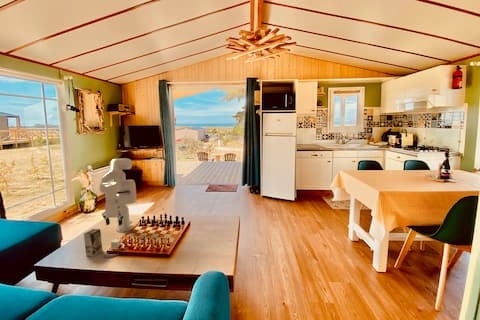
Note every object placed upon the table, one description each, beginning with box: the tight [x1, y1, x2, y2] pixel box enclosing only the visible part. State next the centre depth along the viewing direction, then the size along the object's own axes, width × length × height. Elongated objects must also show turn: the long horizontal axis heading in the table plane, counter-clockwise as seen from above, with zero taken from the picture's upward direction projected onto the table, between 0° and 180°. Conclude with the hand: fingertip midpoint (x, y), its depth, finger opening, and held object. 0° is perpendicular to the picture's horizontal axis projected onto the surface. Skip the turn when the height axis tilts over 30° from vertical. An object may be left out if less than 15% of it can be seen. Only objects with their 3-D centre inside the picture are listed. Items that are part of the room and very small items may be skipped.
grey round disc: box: [103, 252, 119, 259], centre depth 189 cm, size 9×9×1 cm
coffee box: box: [83, 228, 103, 257], centre depth 191 cm, size 9×6×16 cm
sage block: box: [110, 238, 123, 249], centre depth 198 cm, size 5×5×6 cm
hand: (114, 224), depth 196 cm, fingers open, 9 cm apart
